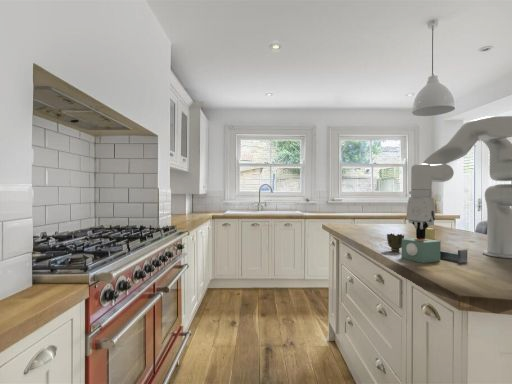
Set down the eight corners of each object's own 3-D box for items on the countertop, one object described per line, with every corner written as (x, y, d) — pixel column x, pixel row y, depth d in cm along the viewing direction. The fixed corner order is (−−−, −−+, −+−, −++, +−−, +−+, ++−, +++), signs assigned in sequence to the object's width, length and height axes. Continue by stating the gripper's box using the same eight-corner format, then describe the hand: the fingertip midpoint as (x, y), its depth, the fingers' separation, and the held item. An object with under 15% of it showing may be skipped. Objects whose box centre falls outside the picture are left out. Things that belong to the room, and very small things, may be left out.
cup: (405, 251, 140) (405, 234, 140) (403, 253, 134) (403, 236, 134) (387, 249, 144) (388, 232, 144) (385, 251, 138) (385, 234, 138)
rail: (423, 253, 136) (423, 242, 136) (467, 262, 119) (467, 249, 119) (416, 253, 134) (416, 242, 134) (460, 263, 117) (460, 250, 117)
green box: (418, 256, 130) (418, 237, 130) (440, 260, 120) (440, 241, 120) (400, 257, 125) (401, 238, 125) (422, 263, 116) (422, 242, 116)
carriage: (427, 252, 135) (427, 227, 135) (440, 255, 130) (440, 229, 130) (418, 253, 133) (418, 228, 133) (430, 256, 127) (431, 229, 127)
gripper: (399, 193, 128) (398, 236, 128) (432, 194, 115) (431, 241, 115) (411, 194, 131) (411, 235, 131) (444, 194, 118) (444, 240, 118)
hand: (420, 238), depth 123 cm, fingers closed
